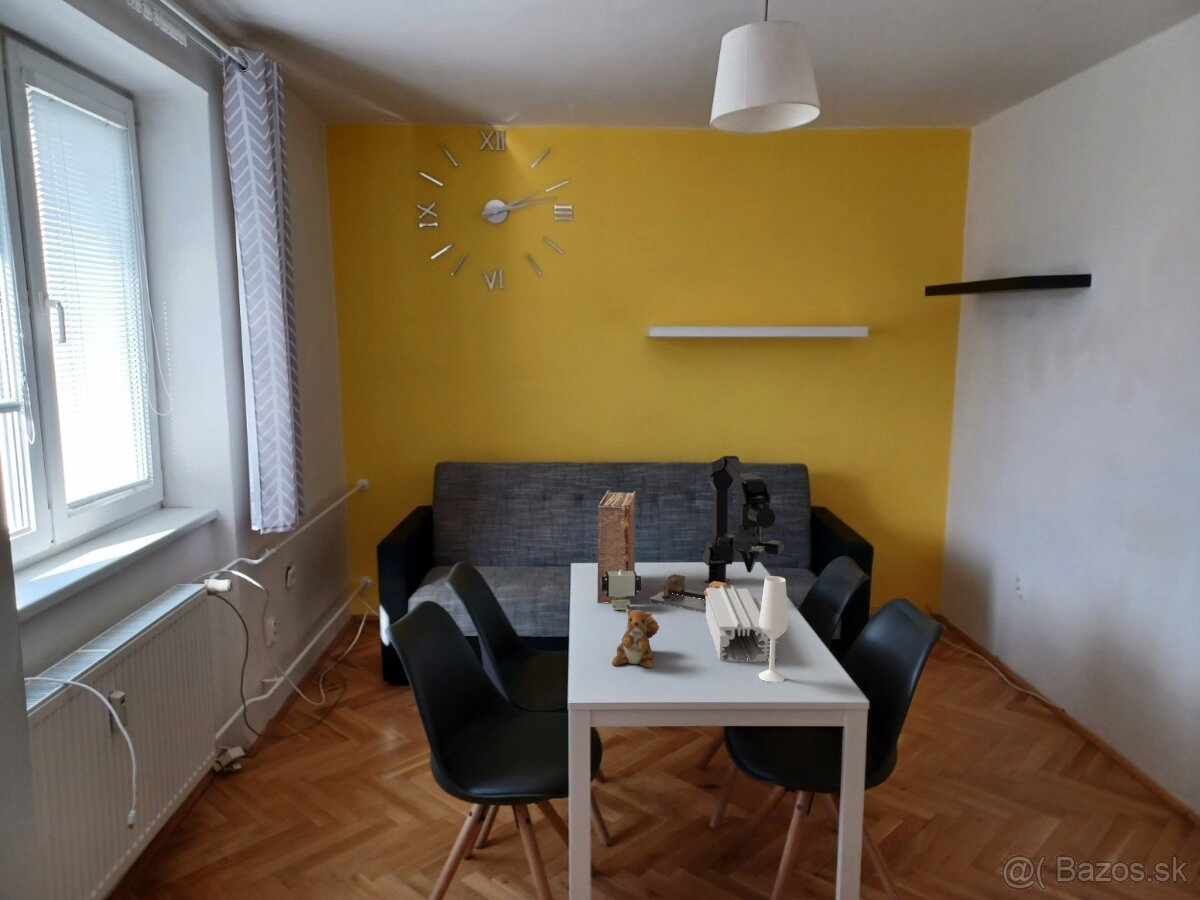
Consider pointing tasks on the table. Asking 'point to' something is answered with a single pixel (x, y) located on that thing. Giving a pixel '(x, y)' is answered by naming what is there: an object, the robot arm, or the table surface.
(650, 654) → the stuffed squirrel
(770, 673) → the champagne flute
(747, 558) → the robot arm
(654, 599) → the bolt-hole strip
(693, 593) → the rail
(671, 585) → the fixed leg
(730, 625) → the aluminum extrusion profile
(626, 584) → the pneumatic valve
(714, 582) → the sliding leg
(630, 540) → the book
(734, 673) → the table surface
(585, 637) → the table surface
